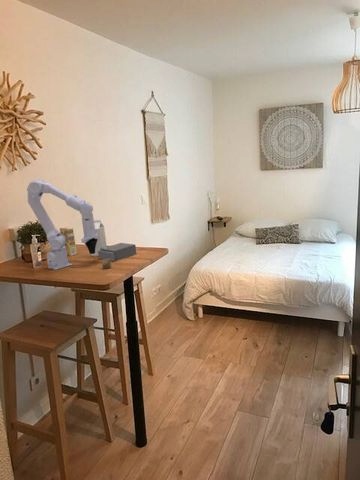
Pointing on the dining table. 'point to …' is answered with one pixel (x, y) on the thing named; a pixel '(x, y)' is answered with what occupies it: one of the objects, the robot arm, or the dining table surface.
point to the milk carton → (101, 239)
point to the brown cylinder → (106, 263)
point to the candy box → (69, 240)
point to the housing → (121, 250)
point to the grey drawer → (106, 255)
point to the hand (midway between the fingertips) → (92, 253)
